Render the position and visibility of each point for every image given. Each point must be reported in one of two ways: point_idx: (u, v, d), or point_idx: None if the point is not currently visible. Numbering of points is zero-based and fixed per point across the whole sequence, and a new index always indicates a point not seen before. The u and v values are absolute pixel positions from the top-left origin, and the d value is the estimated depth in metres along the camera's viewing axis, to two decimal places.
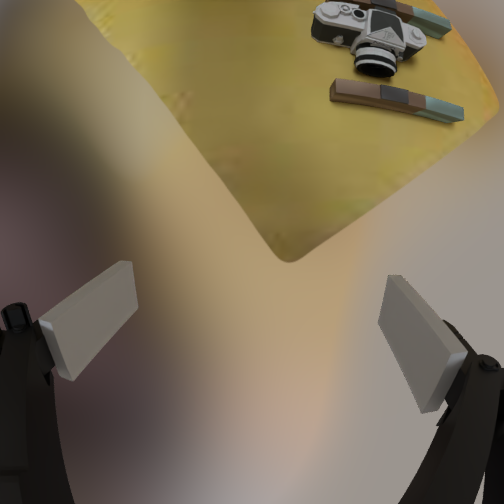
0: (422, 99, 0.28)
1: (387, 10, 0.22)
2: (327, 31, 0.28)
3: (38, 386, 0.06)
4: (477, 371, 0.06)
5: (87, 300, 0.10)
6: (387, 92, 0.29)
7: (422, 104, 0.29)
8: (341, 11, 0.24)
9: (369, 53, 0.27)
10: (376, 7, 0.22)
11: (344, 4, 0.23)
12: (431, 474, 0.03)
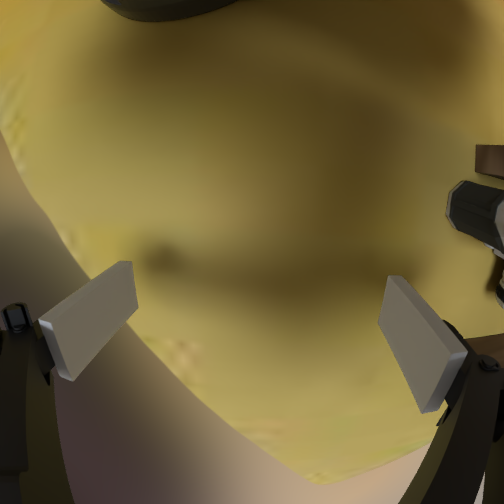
0: None
1: None
2: None
3: (38, 386, 0.06)
4: (477, 371, 0.06)
5: (87, 300, 0.10)
6: None
7: None
8: None
9: None
10: None
11: None
12: (431, 474, 0.03)
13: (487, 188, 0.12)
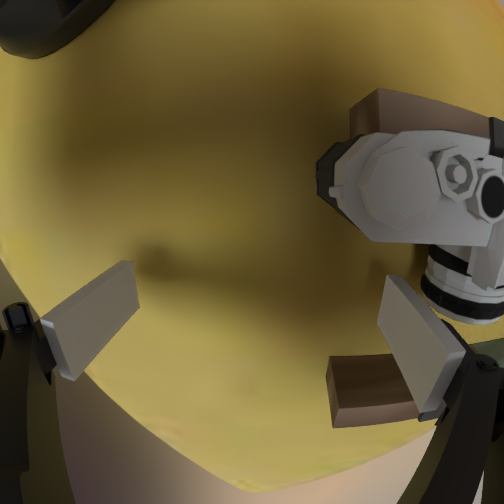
0: None
1: None
2: None
3: (39, 386, 0.06)
4: (475, 370, 0.06)
5: (89, 300, 0.10)
6: (434, 410, 0.13)
7: None
8: None
9: (470, 299, 0.10)
10: None
11: (455, 152, 0.06)
12: (429, 474, 0.03)
13: (344, 143, 0.11)
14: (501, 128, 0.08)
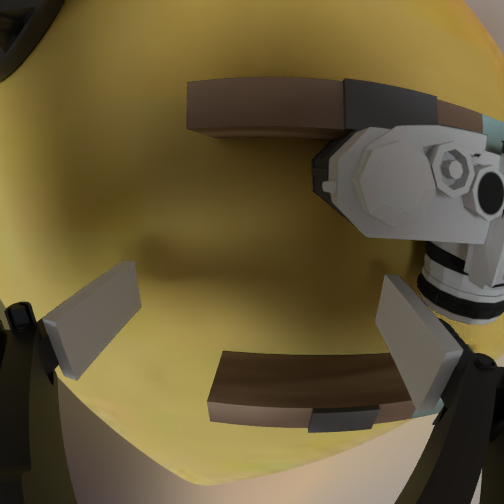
0: (410, 407, 0.13)
1: None
2: None
3: (42, 386, 0.06)
4: (473, 370, 0.06)
5: (91, 299, 0.10)
6: (324, 423, 0.14)
7: (405, 414, 0.14)
8: None
9: (467, 298, 0.10)
10: None
11: (451, 147, 0.06)
12: (427, 473, 0.03)
13: (340, 139, 0.11)
14: (359, 89, 0.09)
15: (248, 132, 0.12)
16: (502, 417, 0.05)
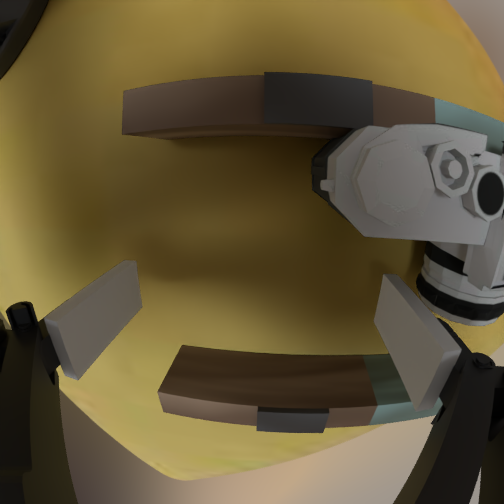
0: (366, 413, 0.14)
1: None
2: None
3: (43, 385, 0.06)
4: (471, 369, 0.06)
5: (92, 299, 0.10)
6: (271, 422, 0.14)
7: (362, 421, 0.14)
8: None
9: (466, 299, 0.10)
10: None
11: (450, 146, 0.06)
12: (426, 473, 0.03)
13: (340, 138, 0.11)
14: (279, 82, 0.09)
15: (186, 133, 0.12)
16: (501, 417, 0.05)
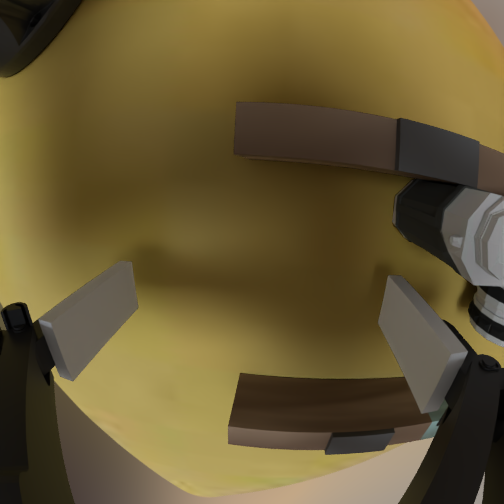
0: (421, 429, 0.13)
1: None
2: None
3: (38, 386, 0.06)
4: (477, 371, 0.06)
5: (87, 300, 0.10)
6: (342, 446, 0.13)
7: (416, 436, 0.13)
8: None
9: None
10: None
11: None
12: (431, 474, 0.03)
13: (437, 186, 0.11)
14: (413, 131, 0.08)
15: None
16: None
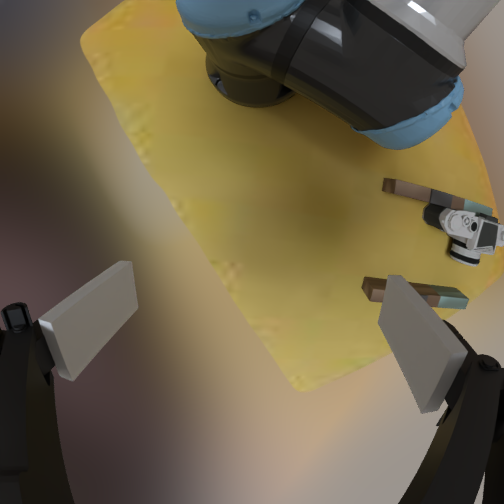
0: (437, 299, 0.38)
1: (493, 219, 0.30)
2: None
3: (38, 386, 0.06)
4: (477, 371, 0.06)
5: (87, 300, 0.10)
6: None
7: (435, 304, 0.38)
8: None
9: (466, 256, 0.35)
10: (487, 217, 0.30)
11: (467, 216, 0.31)
12: (431, 474, 0.03)
13: (438, 206, 0.36)
14: (435, 192, 0.33)
15: None
16: None
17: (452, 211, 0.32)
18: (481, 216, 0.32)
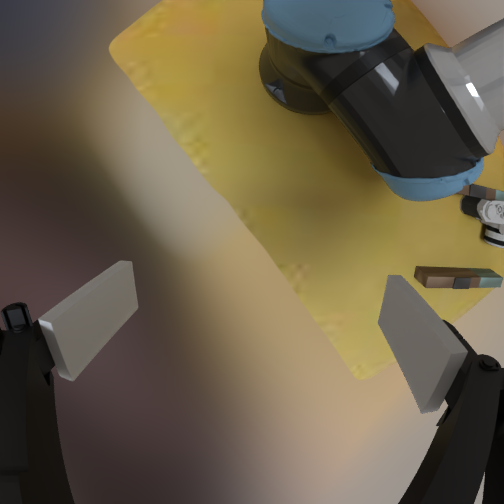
0: (478, 281, 0.38)
1: None
2: None
3: (38, 386, 0.06)
4: (477, 371, 0.06)
5: (87, 300, 0.10)
6: (458, 283, 0.39)
7: (477, 285, 0.39)
8: None
9: (499, 239, 0.35)
10: None
11: (499, 205, 0.31)
12: (431, 474, 0.03)
13: (474, 197, 0.36)
14: (473, 186, 0.34)
15: None
16: None
17: (488, 202, 0.32)
18: None
